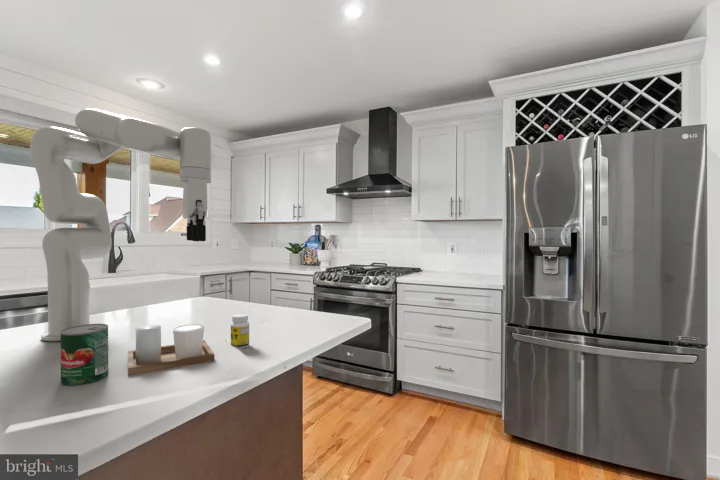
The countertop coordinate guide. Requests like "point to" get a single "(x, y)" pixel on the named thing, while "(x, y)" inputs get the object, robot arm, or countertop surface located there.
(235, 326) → the supplement bottle
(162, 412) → the countertop surface
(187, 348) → the white tapered cup
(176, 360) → the walnut tray
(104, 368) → the canned tomato
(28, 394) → the countertop surface
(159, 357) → the white pillar candle
